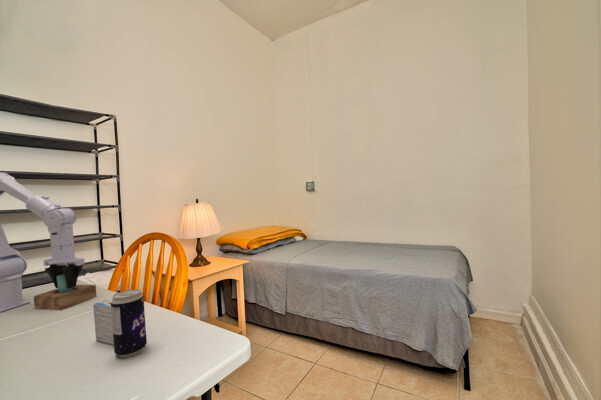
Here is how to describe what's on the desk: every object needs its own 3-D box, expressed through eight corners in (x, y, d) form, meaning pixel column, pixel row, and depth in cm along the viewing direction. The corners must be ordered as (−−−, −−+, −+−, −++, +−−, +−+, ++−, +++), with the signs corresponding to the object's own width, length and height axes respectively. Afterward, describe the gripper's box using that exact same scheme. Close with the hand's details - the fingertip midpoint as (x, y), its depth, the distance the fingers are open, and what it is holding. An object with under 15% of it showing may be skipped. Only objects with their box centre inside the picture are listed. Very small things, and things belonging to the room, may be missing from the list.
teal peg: (56, 301, 89) (53, 276, 89) (68, 297, 92) (64, 273, 92) (65, 300, 88) (61, 276, 88) (76, 296, 92) (73, 272, 92)
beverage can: (136, 358, 54) (132, 297, 54) (107, 360, 54) (103, 299, 54) (152, 343, 60) (148, 287, 60) (126, 344, 60) (122, 289, 60)
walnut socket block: (34, 308, 86) (33, 296, 86) (71, 295, 97) (70, 284, 97) (62, 309, 84) (61, 296, 84) (96, 296, 94) (95, 284, 94)
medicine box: (137, 337, 63) (134, 299, 63) (117, 347, 59) (114, 307, 59) (115, 332, 66) (112, 296, 66) (95, 341, 62) (92, 303, 62)
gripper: (31, 248, 88) (34, 291, 88) (67, 247, 85) (70, 292, 85) (55, 244, 95) (58, 284, 95) (89, 243, 91) (92, 284, 92)
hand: (65, 287), depth 90 cm, fingers open, 4 cm apart
